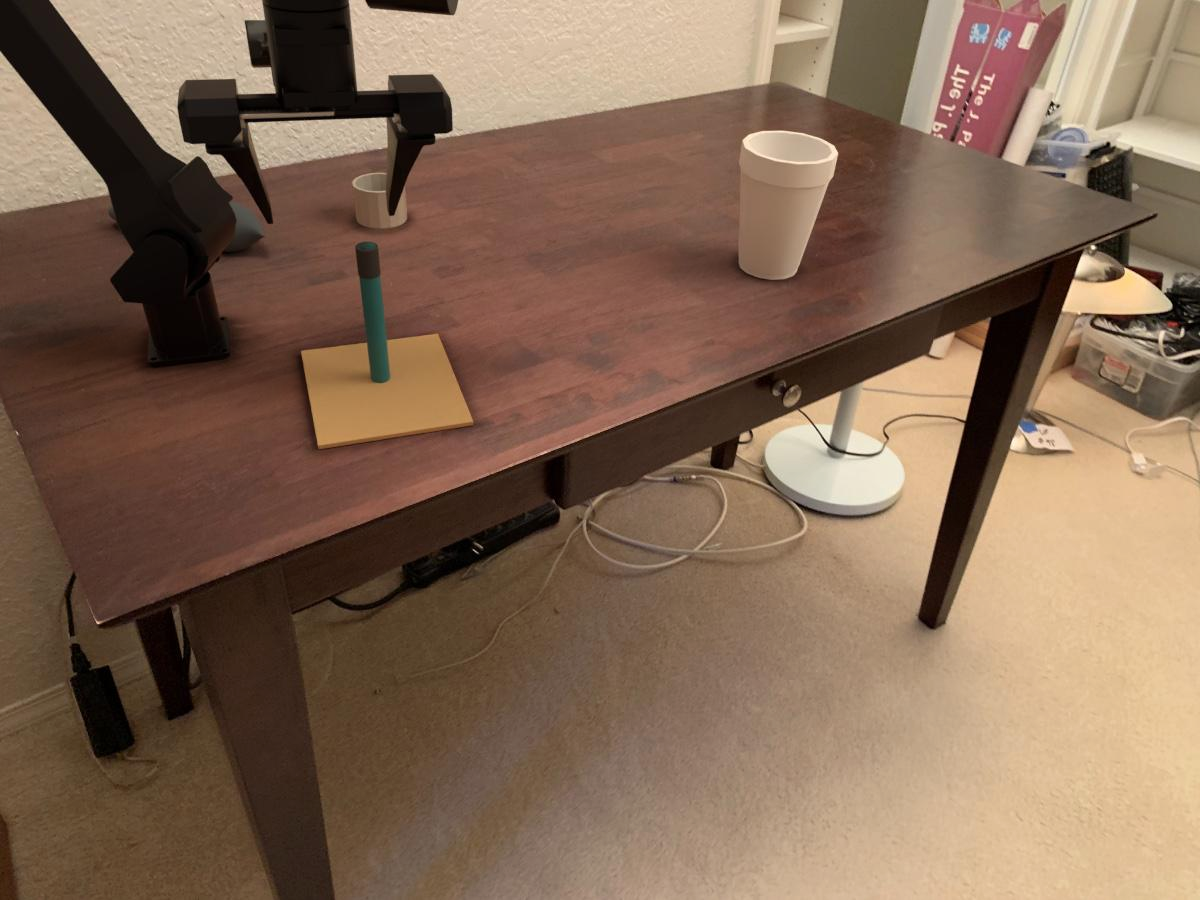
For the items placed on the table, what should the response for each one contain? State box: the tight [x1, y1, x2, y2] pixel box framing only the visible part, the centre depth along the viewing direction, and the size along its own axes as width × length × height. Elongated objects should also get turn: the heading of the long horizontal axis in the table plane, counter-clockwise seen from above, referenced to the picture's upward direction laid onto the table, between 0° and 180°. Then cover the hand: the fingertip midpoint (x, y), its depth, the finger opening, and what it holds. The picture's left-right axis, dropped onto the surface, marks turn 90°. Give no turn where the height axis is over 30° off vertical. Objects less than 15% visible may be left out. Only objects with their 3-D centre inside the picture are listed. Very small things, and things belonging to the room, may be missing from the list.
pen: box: [354, 241, 390, 383], centre depth 73 cm, size 2×2×12 cm
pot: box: [351, 172, 408, 230], centre depth 101 cm, size 6×6×4 cm
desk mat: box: [300, 333, 474, 450], centre depth 76 cm, size 14×12×1 cm
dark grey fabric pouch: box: [107, 201, 266, 253], centre depth 94 cm, size 20×5×5 cm, turn 77°
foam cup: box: [738, 130, 839, 281], centre depth 95 cm, size 10×9×13 cm
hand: (331, 217), depth 72 cm, fingers open, 9 cm apart
